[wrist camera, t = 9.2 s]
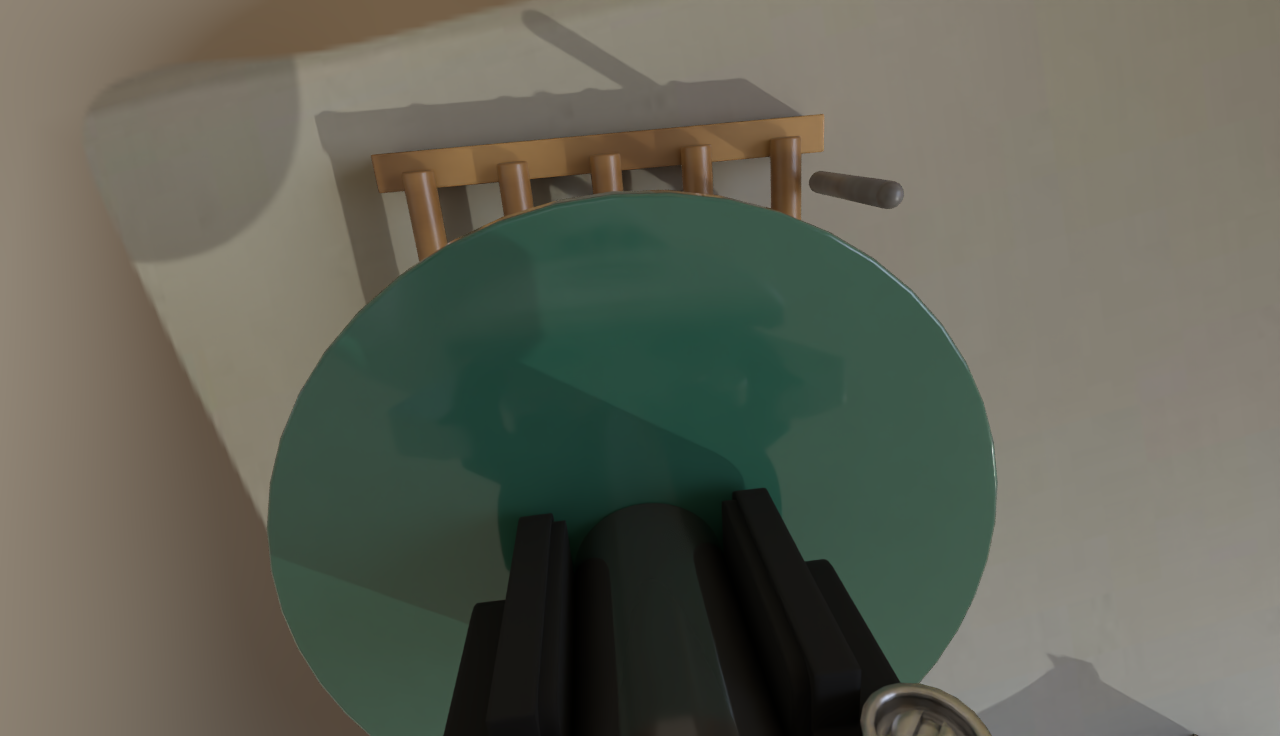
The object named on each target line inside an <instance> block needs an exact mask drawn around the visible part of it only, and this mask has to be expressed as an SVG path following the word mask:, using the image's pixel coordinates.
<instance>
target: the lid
mask: <svg viewBox="0 0 1280 736" xmlns="http://www.w3.org/2000/svg"><path fill="white" fill-rule="evenodd" d="M755 488H766V489H767V491H768V492H769V494H770V496H771V498H772V500H773V502H774V504H775V506H776V508H777V510H778V512H779V513H780V515H781V517H782V519H783V521H784V523H785V525H786V527H787V529H788V531H789V533H790V534H791V536H792V538H793V540H794V542H795V544H796V546H797V548H798V550H799V552H800V554H801V555H802V557H803V559H804V561H812V560H820V559H826V560H828V561H829V562H830V564H831V565H832V566H833V568H834V569H835V571H836V573H837V574H838V576H839V578H840V580H841V581H842V583H843V585H844V586H845V588H846V590H847V592H848V593H849V595H850V597H851V598H852V600H853V602H854V604H855V605H856V607H857V609H858V610H859V612H860V614H861V616H862V617H863V619H864V621H865V622H866V624H867V626H868V628H869V629H870V631H871V633H872V634H873V636H874V638H875V640H876V641H877V643H878V645H879V646H880V648H881V650H882V652H883V653H884V655H885V657H886V658H887V660H888V662H889V664H890V665H891V667H892V669H893V670H894V672H895V674H896V676H897V677H898V679H899V681H900V682H901V683H920V682H921V680H922V679H923V678H924V677H925V676H926V674H927V673H928V672H929V671H930V670H931V668H932V667H933V666H934V665H935V664H936V663H937V661H938V659H939V658H940V656H941V655H942V653H943V652H944V650H945V649H946V647H947V646H948V644H949V643H950V641H951V640H952V638H953V637H954V635H955V634H956V632H957V631H958V629H959V627H960V625H961V623H962V621H963V619H964V617H965V615H966V613H967V611H968V609H969V607H970V605H971V603H972V601H973V599H974V597H975V594H976V591H977V589H978V586H979V583H980V580H981V577H982V574H983V571H984V568H985V566H986V563H987V560H988V555H989V550H990V545H991V540H992V535H993V530H994V525H995V517H996V499H997V473H996V462H995V452H994V442H993V438H992V434H991V430H990V426H989V422H988V418H987V414H986V410H985V407H984V403H983V400H982V398H981V395H980V393H979V391H978V388H977V386H976V384H975V381H974V379H973V377H972V374H971V372H970V370H969V368H968V365H967V363H966V361H965V359H964V358H963V356H962V355H961V353H960V351H959V350H958V348H957V347H956V345H955V344H954V342H953V340H952V339H951V337H950V336H949V334H948V333H947V331H946V329H945V328H944V326H943V325H942V323H941V322H940V321H939V320H938V319H937V318H936V317H935V316H934V314H933V313H932V312H931V311H930V310H929V309H928V308H927V306H926V305H925V304H924V303H923V302H922V301H921V300H920V299H919V297H918V296H917V295H916V294H915V293H914V292H913V291H912V290H911V289H910V288H909V287H908V286H907V285H905V284H904V283H903V282H902V281H901V280H899V279H898V278H897V277H896V276H895V275H893V274H892V273H891V272H890V271H888V270H887V269H886V268H885V267H884V266H882V265H881V264H880V263H879V262H878V261H876V260H875V259H874V258H872V257H871V256H869V255H867V254H866V253H864V252H862V251H861V250H859V249H857V248H856V247H854V246H852V245H850V244H849V243H847V242H845V241H844V240H842V239H840V238H839V237H837V236H835V235H834V234H832V233H830V232H828V231H826V230H823V229H821V228H818V227H816V226H814V225H811V224H809V223H806V222H804V221H801V220H799V219H797V218H794V217H792V216H789V215H787V214H784V213H782V212H779V211H777V210H774V209H771V208H767V207H763V206H759V205H755V204H751V203H747V202H743V201H740V200H736V199H732V198H728V197H724V196H718V195H709V194H700V193H691V192H682V191H673V190H643V191H611V192H605V193H598V194H592V195H586V196H580V197H574V198H568V199H562V200H556V201H553V202H550V203H546V204H543V205H540V206H537V207H533V208H530V209H527V210H524V211H520V212H517V213H514V214H511V215H507V216H504V217H502V218H499V219H497V220H495V221H493V222H491V223H489V224H487V225H484V226H482V227H480V228H478V229H476V230H474V231H471V232H469V233H467V234H465V235H463V236H461V237H459V238H456V239H454V240H452V241H451V242H449V243H448V244H446V245H445V246H443V247H442V248H440V249H439V250H437V251H435V252H434V253H432V254H431V255H429V256H428V257H426V258H425V259H423V260H422V261H420V262H418V263H417V264H415V265H414V266H412V267H411V268H409V269H408V270H406V271H405V272H404V273H402V274H401V275H400V276H399V277H397V278H396V279H395V280H394V281H393V282H392V283H391V284H389V285H388V286H387V287H386V288H385V289H384V290H383V291H381V292H380V293H379V294H378V295H377V296H376V297H375V298H373V299H372V300H371V301H370V302H369V303H368V304H367V305H365V306H364V307H363V308H362V309H361V310H360V311H359V312H358V313H357V314H356V315H355V316H354V318H353V319H352V320H351V321H350V322H349V323H348V325H347V326H346V327H345V328H344V329H343V331H342V332H341V333H340V334H339V335H338V336H337V338H336V339H335V340H334V341H333V342H332V344H331V345H330V346H329V347H328V348H327V349H326V351H325V352H324V354H323V355H322V357H321V358H320V360H319V362H318V363H317V365H316V367H315V368H314V370H313V372H312V373H311V375H310V376H309V378H308V380H307V381H306V383H305V385H304V386H303V388H302V389H301V391H300V393H299V394H298V397H297V399H296V402H295V404H294V407H293V409H292V411H291V414H290V416H289V419H288V421H287V424H286V426H285V428H284V431H283V433H282V436H281V438H280V442H279V446H278V451H277V455H276V459H275V463H274V468H273V472H272V476H271V481H270V489H269V504H268V520H267V535H268V545H269V555H270V565H271V573H272V577H273V580H274V584H275V588H276V592H277V596H278V600H279V603H280V607H281V611H282V614H283V616H284V618H285V620H286V623H287V625H288V627H289V629H290V632H291V634H292V636H293V639H294V641H295V643H296V645H297V648H298V650H299V651H300V653H301V654H302V656H303V657H304V659H305V661H306V662H307V664H308V665H309V667H310V669H311V670H312V672H313V674H314V675H315V677H316V678H317V680H318V681H319V683H320V684H321V685H322V686H323V688H324V689H325V690H326V691H327V692H328V694H329V695H330V696H331V697H332V698H333V699H334V701H335V702H336V703H337V704H338V705H339V707H340V708H341V709H342V710H343V711H344V713H345V714H347V715H348V716H349V717H350V718H351V719H352V720H353V721H354V722H355V723H356V724H357V725H359V726H360V727H361V728H362V729H363V730H364V731H365V732H366V733H367V734H368V735H370V736H443V735H444V731H445V726H446V722H447V718H448V713H449V709H450V705H451V700H452V696H453V692H454V687H455V683H456V679H457V675H458V670H459V666H460V662H461V657H462V653H463V649H464V644H465V640H466V636H467V631H468V627H469V623H470V618H471V614H472V611H473V608H474V606H475V605H476V603H482V602H490V601H498V600H505V599H506V593H507V587H508V581H509V575H510V569H511V563H512V557H513V551H514V545H515V539H516V533H517V526H518V521H519V518H520V517H524V516H532V515H540V514H548V513H552V514H553V517H554V521H563V520H565V521H566V524H567V530H568V537H569V544H570V551H571V558H572V564H573V571H574V621H573V681H572V736H786V735H785V732H784V729H783V726H782V723H781V720H780V717H779V714H778V711H777V708H776V706H775V703H774V700H773V697H772V694H771V691H770V688H769V685H768V682H767V679H766V676H765V673H764V670H763V668H762V665H761V662H760V659H759V656H758V653H757V650H756V647H755V644H754V641H753V638H752V635H751V632H750V629H749V627H748V624H747V621H746V618H745V615H744V612H743V609H742V606H741V603H740V600H739V597H738V594H737V591H736V588H735V586H734V583H733V580H732V577H731V574H730V571H729V568H728V565H727V562H726V559H725V556H724V551H723V529H722V501H727V500H732V493H733V491H739V490H747V489H755Z"/></svg>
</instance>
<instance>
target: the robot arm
mask: <svg viewBox="0 0 1280 736" xmlns="http://www.w3.org/2000/svg"><path fill="white" fill-rule="evenodd" d="M722 529H723V551H724V556H725V559H726V562H727V565H728V568H729V571H730V574H731V577H732V580H733V583H734V586H735V588H736V591H737V594H738V597H739V600H740V603H741V606H742V609H743V612H744V615H745V618H746V621H747V624H748V627H749V629H750V632H751V635H752V638H753V641H754V644H755V647H756V650H757V653H758V656H759V659H760V662H761V665H762V668H763V670H764V673H765V676H766V679H767V682H768V685H769V688H770V691H771V694H772V697H773V700H774V703H775V706H776V708H777V711H778V714H779V717H780V720H781V723H782V726H783V729H784V732H785V735H786V736H992V735H991V734H990V732H989V731H988V729H987V727H986V726H985V725H984V724H983V722H982V721H981V720H980V718H979V717H978V716H977V715H976V713H975V712H974V711H973V710H971V709H970V708H969V707H968V706H966V705H965V704H964V703H963V702H961V701H960V700H959V699H958V698H956V697H954V696H952V695H950V694H948V693H946V692H944V691H942V690H940V689H938V688H934V687H930V686H927V685H923V684H919V683H901V682H900V681H899V679H898V677H897V676H896V674H895V672H894V670H893V669H892V667H891V665H890V664H889V662H888V660H887V658H886V657H885V655H884V653H883V652H882V650H881V648H880V646H879V645H878V643H877V641H876V640H875V638H874V636H873V634H872V633H871V631H870V629H869V628H868V626H867V624H866V622H865V621H864V619H863V617H862V616H861V614H860V612H859V610H858V609H857V607H856V605H855V604H854V602H853V600H852V598H851V597H850V595H849V593H848V592H847V590H846V588H845V586H844V585H843V583H842V581H841V580H840V578H839V576H838V574H837V573H836V571H835V569H834V568H833V566H832V565H831V564H830V562H829V561H828V560H826V559H820V560H812V561H804V559H803V557H802V555H801V554H800V552H799V550H798V548H797V546H796V544H795V542H794V540H793V538H792V536H791V534H790V533H789V531H788V529H787V527H786V525H785V523H784V521H783V519H782V517H781V515H780V513H779V512H778V510H777V508H776V506H775V504H774V502H773V500H772V498H771V496H770V494H769V492H768V491H767V489H766V488H755V489H747V490H739V491H733V493H732V500H727V501H722ZM573 621H574V571H573V564H572V558H571V551H570V544H569V537H568V530H567V524H566V521H565V520H563V521H554V517H553V514H552V513H548V514H540V515H532V516H524V517H520V518H519V521H518V526H517V533H516V539H515V545H514V551H513V557H512V563H511V569H510V575H509V581H508V587H507V593H506V599H505V600H498V601H490V602H482V603H476V605H475V606H474V608H473V611H472V614H471V618H470V623H469V627H468V631H467V636H466V640H465V644H464V649H463V653H462V657H461V662H460V666H459V670H458V675H457V679H456V683H455V687H454V692H453V696H452V700H451V705H450V709H449V713H448V718H447V722H446V726H445V731H444V735H443V736H572V681H573Z"/></svg>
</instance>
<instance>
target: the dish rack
mask: <svg viewBox="0 0 1280 736" xmlns="http://www.w3.org/2000/svg"><path fill="white" fill-rule="evenodd" d="M823 150H824V114H819V115H807V116H796V117H785V118H774V119H763V120H752V121H741V122H730V123H719V124H708V125H697V126H686V127H675V128H663V129H652V130H641V131H630V132H619V133H608V134H597V135H586V136H575V137H564V138H553V139H542V140H531V141H520V142H508V143H497V144H486V145H475V146H464V147H453V148H442V149H431V150H420V151H409V152H398V153H387V154H376V155H371V159H372V164H373V168H374V173H375V177H376V182H377V186H378V191H379V193H387V192H398V191H405V194H406V199H407V204H408V209H409V214H410V219H411V223H412V228H413V233H414V238H415V243H416V248H417V252H418V257H419V262H420V261H422V260H423V259H425V258H426V257H428V256H429V255H431V254H432V253H434V252H435V251H437V250H439V249H440V248H442V247H443V246H445V245H446V244H448V243H447V238H446V232H445V227H444V222H443V217H442V211H441V206H440V201H439V196H438V190H437V188H440V187H451V186H462V185H472V184H483V183H494V182H499V186H500V193H501V199H502V205H503V212H504V216H507V215H511V214H514V213H517V212H520V211H524V210H527V209H530V208H533V207H534V205H533V198H532V191H531V184H530V179H536V178H547V177H558V176H568V175H579V174H590V173H591V177H592V186H593V194H598V193H605V192H611V191H623V181H622V170H632V169H643V168H654V167H664V166H675V165H682V180H683V192H691V193H700V194H709V195H713V175H712V162H718V161H728V160H739V159H750V158H760V157H770V165H771V209H774V210H777V211H779V212H782V213H784V214H787V215H789V216H792V217H794V218H797V219H799V220H801V154H803V153H814V152H822V151H823ZM809 186H810V188H811V190H812V191H814V192H816V193H820V194H824V195H828V196H832V197H837V198H841V199H845V200H850V201H854V202H858V203H863V204H867V205H871V206H876V207H880V208H884V209H892V208H894V207H896V206H898V205H899V204H900V203H901V202H902V200H903V197H904V190H903V188H902V186H901V185H900V184H899V183H897V182H895V181H889V180H882V179H875V178H868V177H860V176H853V175H846V174H839V173H831V172H824V171H818V172H816V173H814V174H813V175H812V176H811V178H810V180H809Z"/></svg>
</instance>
